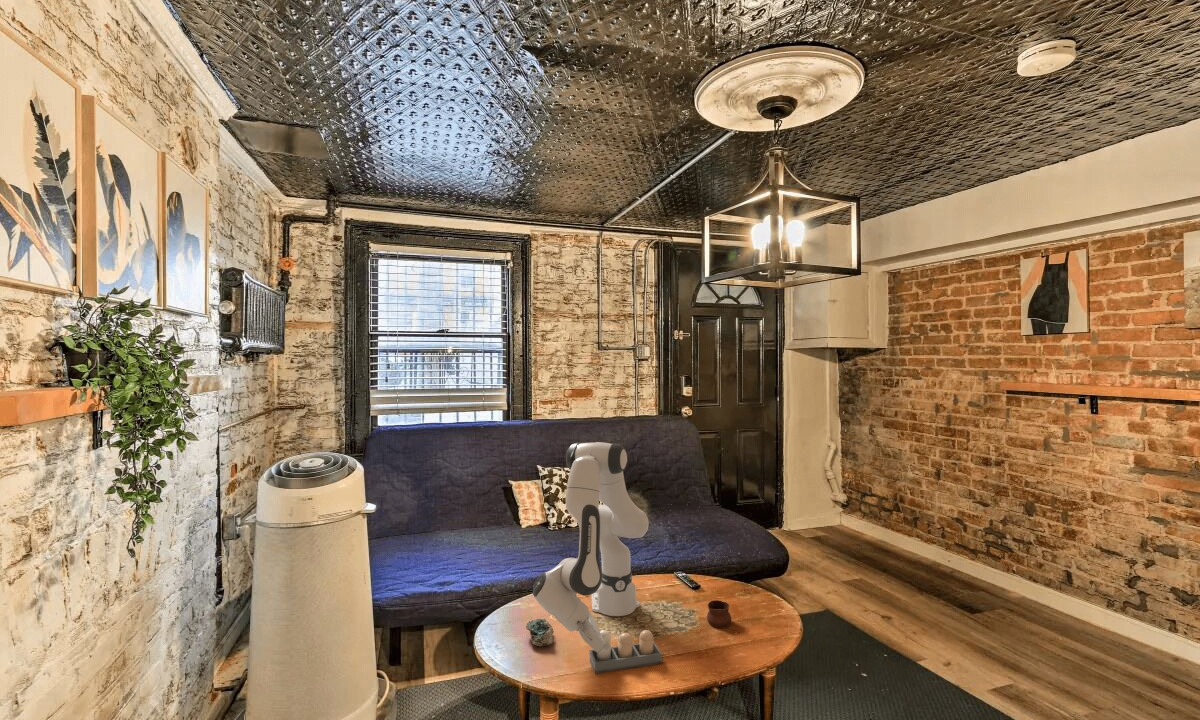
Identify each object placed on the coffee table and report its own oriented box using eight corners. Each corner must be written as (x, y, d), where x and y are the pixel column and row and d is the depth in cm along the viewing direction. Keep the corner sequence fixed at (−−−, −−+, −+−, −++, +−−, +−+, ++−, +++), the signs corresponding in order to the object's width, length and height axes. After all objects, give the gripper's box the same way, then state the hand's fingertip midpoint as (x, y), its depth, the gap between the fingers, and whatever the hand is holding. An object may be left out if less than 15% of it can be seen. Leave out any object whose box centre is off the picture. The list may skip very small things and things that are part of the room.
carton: (589, 660, 175) (589, 632, 175) (653, 650, 180) (653, 623, 180) (595, 673, 168) (594, 644, 167) (661, 663, 173) (661, 635, 173)
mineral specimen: (524, 631, 192) (524, 614, 189) (550, 624, 195) (550, 607, 192) (533, 660, 181) (532, 642, 178) (560, 652, 184) (560, 635, 181)
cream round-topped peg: (595, 653, 174) (595, 628, 174) (608, 652, 175) (608, 626, 175) (598, 661, 169) (598, 635, 169) (612, 659, 170) (612, 633, 170)
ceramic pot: (687, 629, 194) (687, 610, 194) (701, 608, 210) (701, 590, 210) (739, 641, 187) (739, 620, 186) (749, 618, 203) (749, 599, 202)
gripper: (589, 623, 160) (621, 651, 163) (575, 593, 180) (604, 619, 182) (574, 640, 159) (607, 669, 162) (562, 608, 179) (591, 634, 181)
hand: (605, 642), depth 172 cm, fingers closed on cream round-topped peg, 4 cm apart
